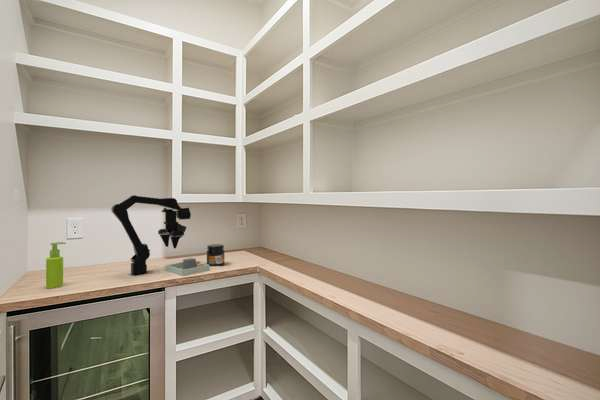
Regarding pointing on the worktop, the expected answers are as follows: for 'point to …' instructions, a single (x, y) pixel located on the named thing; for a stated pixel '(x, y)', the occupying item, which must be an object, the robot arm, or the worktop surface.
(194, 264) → the connector
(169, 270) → the bay
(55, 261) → the soap dispenser
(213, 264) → the supplement container
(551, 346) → the worktop surface
